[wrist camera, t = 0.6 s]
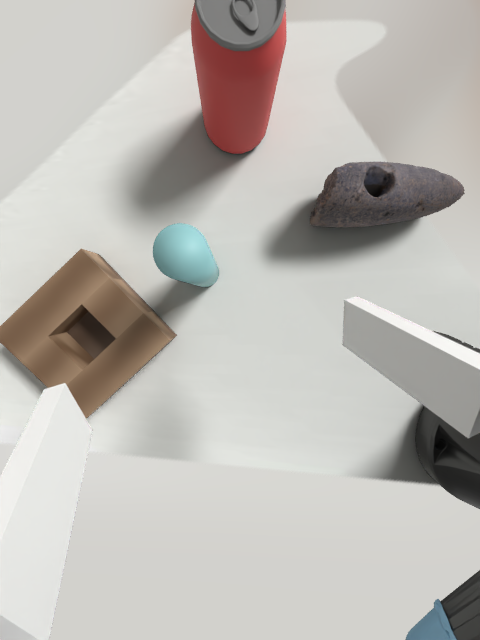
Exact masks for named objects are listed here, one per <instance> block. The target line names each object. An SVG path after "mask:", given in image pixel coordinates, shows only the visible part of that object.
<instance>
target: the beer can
mask: <svg viewBox="0 0 480 640" xmlns="http://www.w3.org/2000/svg"><path fill="white" fill-rule="evenodd" d="M285 6H286V5H285V0H195V3H194V8H193V12H192V20H191V35H192V46H193V53H194V60H195V66H196V73H197V80H198V86H199V93H200V99H201V106H202V113H203V119H204V126H205V129H206V132H207V134H208V137H209V138H210V139H211V141H212V142H213V143H214V145H216V146H217V147H219V148H220V149H221V150H223V151H226V152H229V153H232V154H241V153H245V152H247V151H250V150H252V149H253V148H255V147H256V146H257V145H258V144H259V143H260V142H261V140H262V139H263V137H264V136H265V133H266V129H267V126H268V121H269V117H270V112H271V108H272V103H273V99H274V94H275V90H276V85H277V81H278V76H279V72H280V67H281V63H282V58H283V54H284V49H285V45H286V12H285Z"/></svg>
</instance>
